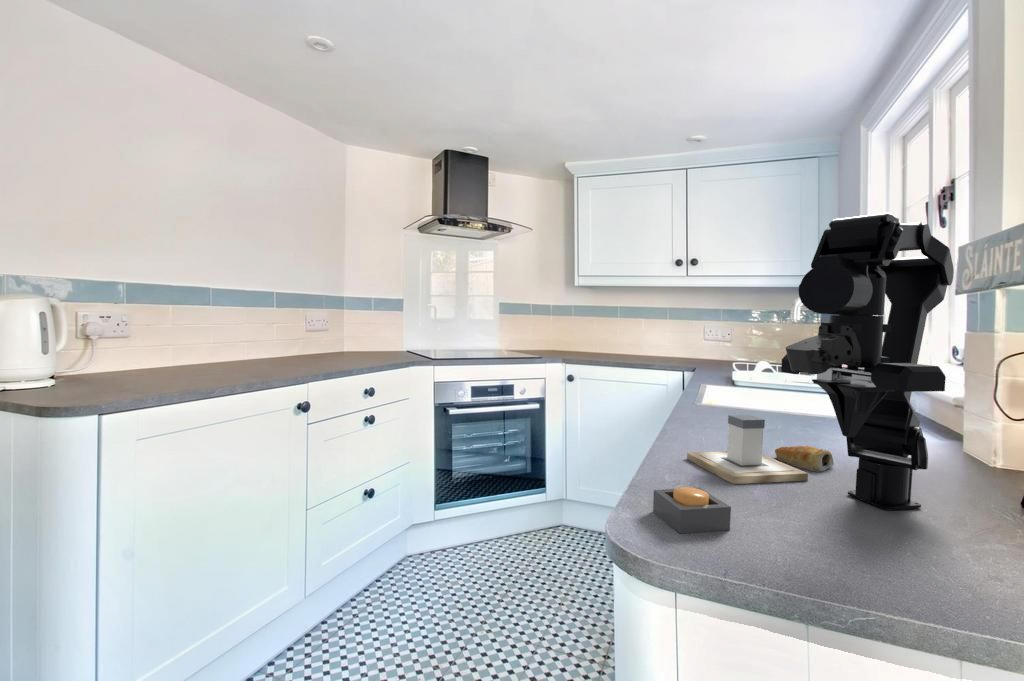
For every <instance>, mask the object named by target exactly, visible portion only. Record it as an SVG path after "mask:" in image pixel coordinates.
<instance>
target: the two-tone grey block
mask: <svg viewBox="0 0 1024 681" xmlns="http://www.w3.org/2000/svg"><path fill="white" fill-rule="evenodd" d="M765 422H766V419H765V418H764V419H763V418H760V417H758V416H754V415H752V414H729V415H728V416H727V424H728V431H727V432H728V434H727V451H728V452H727V459H729V460H731V461H733V462H735V463H737V464H739V465H762V455H763V444H764V442H763V441H764V429H765V427H766V426H765V424H766V423H765Z"/></svg>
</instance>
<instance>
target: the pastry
mask: <svg viewBox="0 0 1024 681" xmlns="http://www.w3.org/2000/svg"><path fill="white" fill-rule="evenodd" d="M774 453H775V456H776V458H777V460H778V461H780V462H783V463H785V464H787V465H789V466H795V467H797V468H801V469H805V470H808V471H811V472H817V473H818V472H825V471H826V470H827V469H828V470H829V469H830V468H833V467H834V464H835V463H834V458H833V454H832V452H831V451H830V450H827V449H822V448H821V449H819V448H818V447H814V446H809V445H805V446H803V445H797V446H781V447H778V448H776V449H775V450H774Z"/></svg>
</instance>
